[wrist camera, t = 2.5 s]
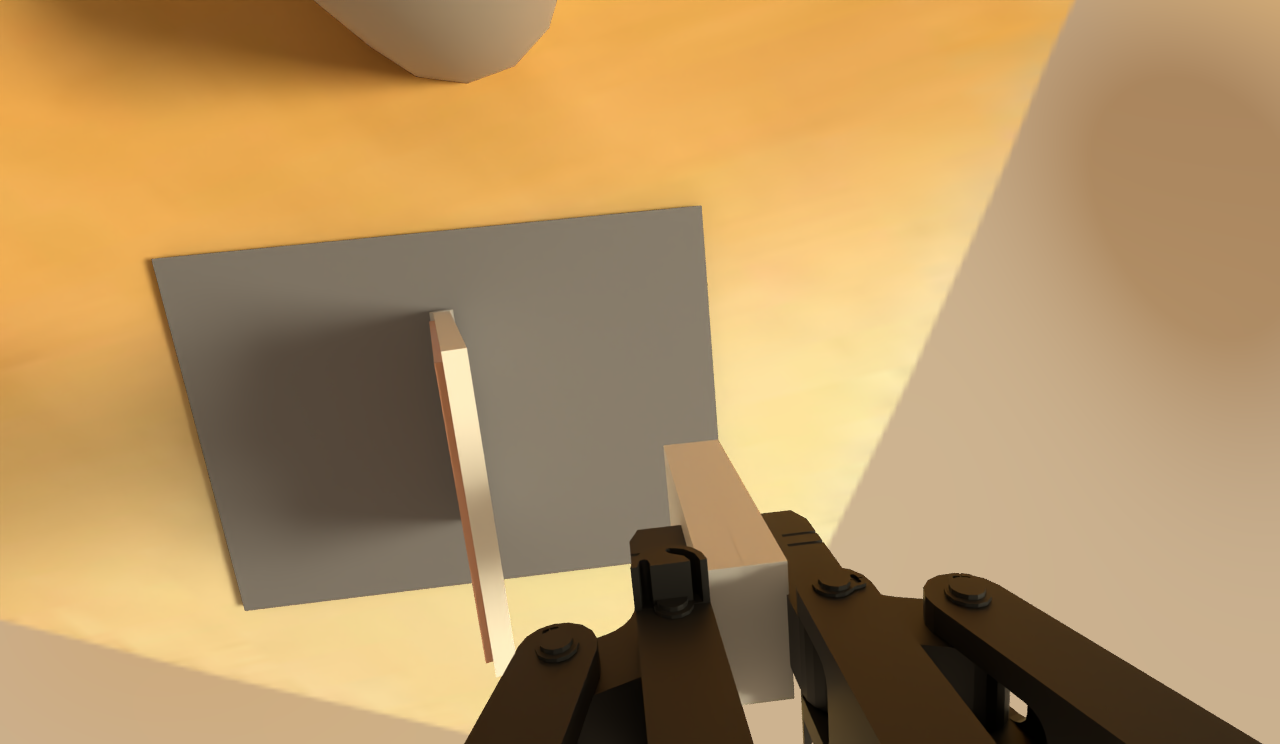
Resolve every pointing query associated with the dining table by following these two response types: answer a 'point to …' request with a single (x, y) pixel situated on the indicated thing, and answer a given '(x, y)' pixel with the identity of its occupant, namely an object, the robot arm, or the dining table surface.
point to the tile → (472, 487)
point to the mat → (410, 401)
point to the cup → (447, 33)
